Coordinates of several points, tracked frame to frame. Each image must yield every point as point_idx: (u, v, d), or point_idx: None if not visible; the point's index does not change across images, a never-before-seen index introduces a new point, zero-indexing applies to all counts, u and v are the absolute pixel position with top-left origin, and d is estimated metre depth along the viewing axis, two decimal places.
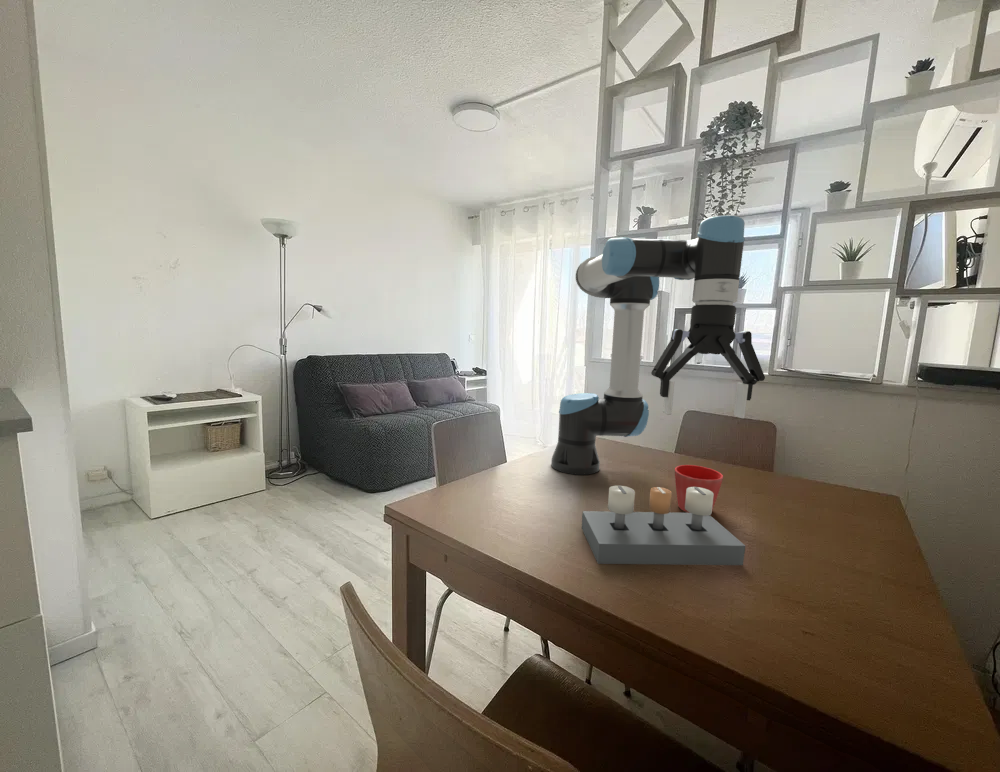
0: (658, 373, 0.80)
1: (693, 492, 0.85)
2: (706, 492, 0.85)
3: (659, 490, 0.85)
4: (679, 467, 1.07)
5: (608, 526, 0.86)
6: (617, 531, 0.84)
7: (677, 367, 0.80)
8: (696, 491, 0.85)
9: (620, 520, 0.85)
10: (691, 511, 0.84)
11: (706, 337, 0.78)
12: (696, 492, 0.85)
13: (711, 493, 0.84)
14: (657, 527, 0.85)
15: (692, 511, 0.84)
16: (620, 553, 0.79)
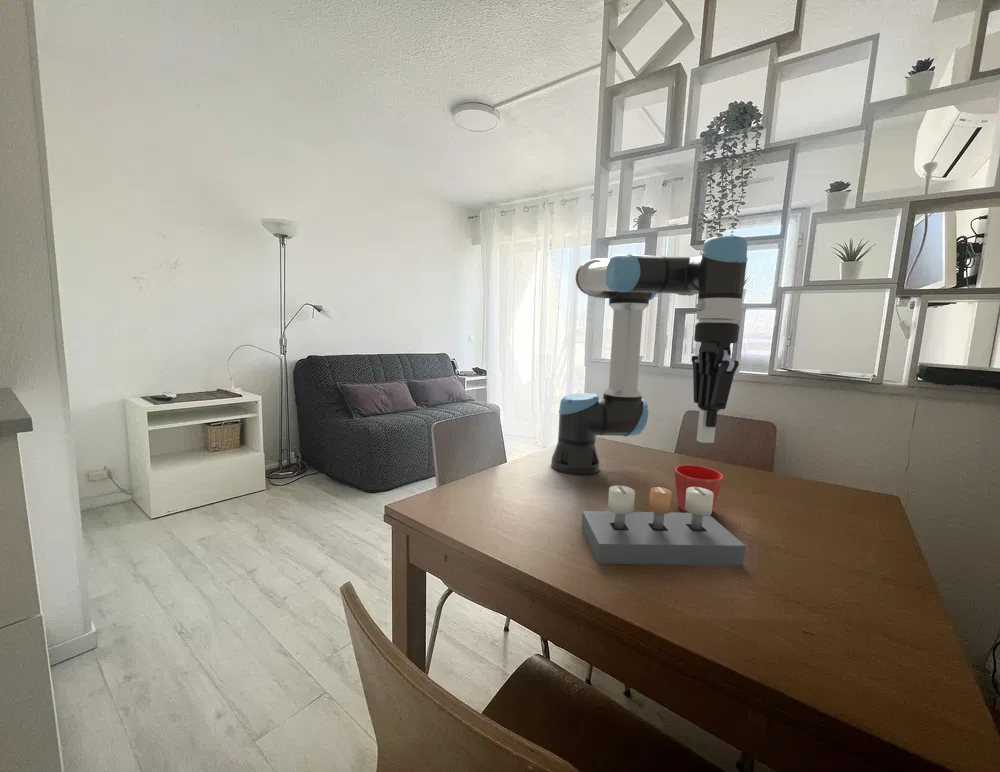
0: (694, 399, 0.86)
1: (693, 492, 0.85)
2: (706, 492, 0.85)
3: (659, 490, 0.85)
4: (679, 467, 1.07)
5: (608, 526, 0.86)
6: (617, 531, 0.84)
7: (700, 391, 0.84)
8: (696, 491, 0.85)
9: (620, 520, 0.85)
10: (691, 511, 0.84)
11: (699, 354, 0.83)
12: (696, 492, 0.85)
13: (711, 493, 0.84)
14: (657, 527, 0.85)
15: (692, 511, 0.84)
16: (620, 553, 0.79)
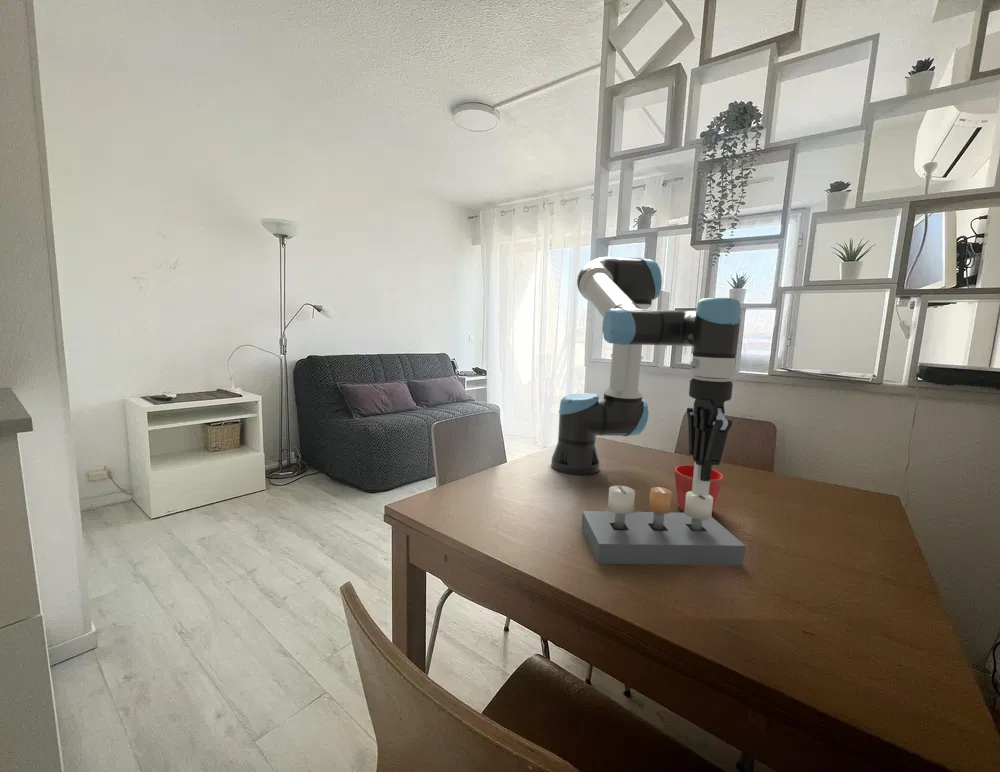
0: (689, 451, 0.87)
1: (693, 496, 0.85)
2: (705, 496, 0.85)
3: (659, 490, 0.85)
4: (679, 467, 1.07)
5: (608, 526, 0.86)
6: (617, 531, 0.84)
7: (695, 445, 0.85)
8: (696, 495, 0.85)
9: (620, 520, 0.85)
10: (691, 515, 0.85)
11: (694, 409, 0.84)
12: (696, 496, 0.85)
13: (711, 497, 0.85)
14: (657, 527, 0.85)
15: (692, 515, 0.84)
16: (620, 553, 0.79)
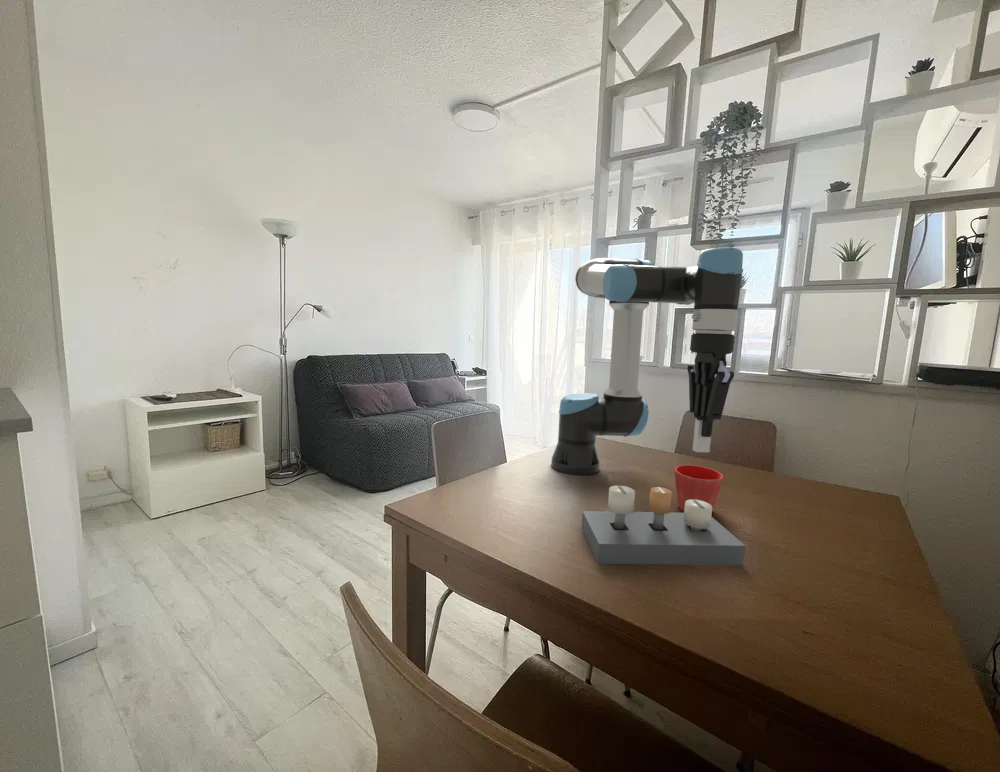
0: (690, 408, 0.86)
1: (692, 505, 0.85)
2: (705, 505, 0.85)
3: (659, 490, 0.85)
4: (679, 467, 1.07)
5: (608, 526, 0.86)
6: (617, 531, 0.84)
7: (696, 401, 0.84)
8: (695, 504, 0.86)
9: (620, 520, 0.85)
10: (690, 524, 0.85)
11: (695, 364, 0.83)
12: (695, 505, 0.85)
13: (710, 506, 0.85)
14: (657, 527, 0.85)
15: (691, 524, 0.85)
16: (620, 553, 0.79)
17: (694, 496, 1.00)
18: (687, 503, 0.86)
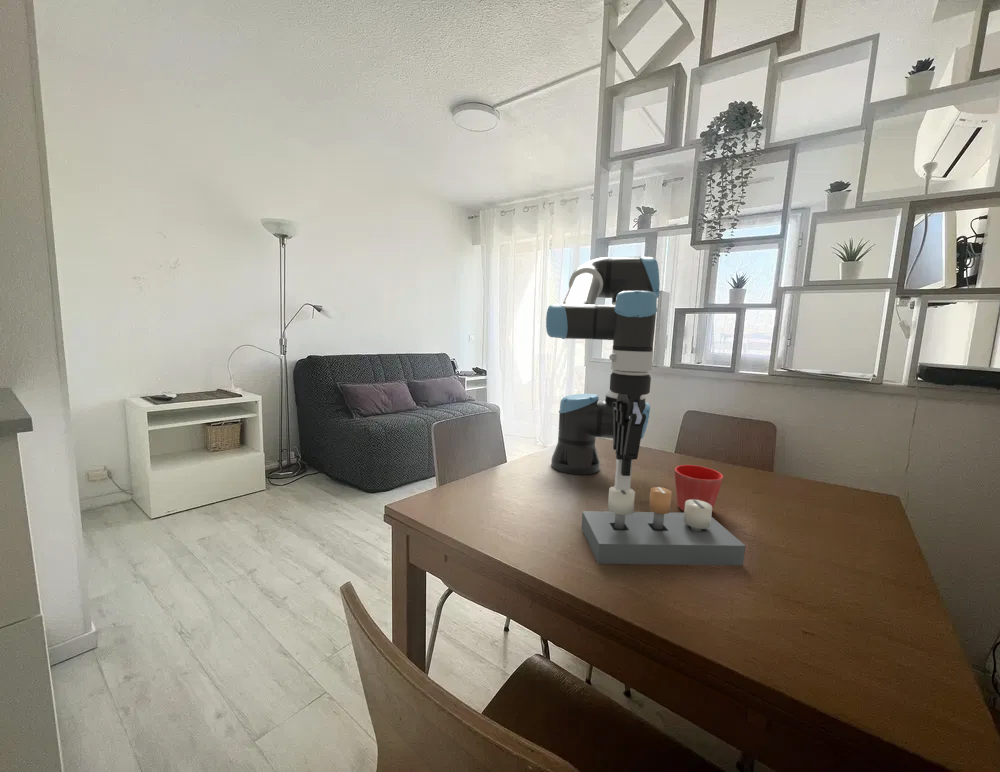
0: (613, 446, 0.87)
1: (692, 505, 0.85)
2: (705, 505, 0.85)
3: (659, 490, 0.85)
4: (679, 467, 1.07)
5: (608, 526, 0.86)
6: (617, 531, 0.84)
7: (617, 439, 0.85)
8: (695, 504, 0.86)
9: (620, 521, 0.85)
10: (690, 524, 0.85)
11: (615, 403, 0.84)
12: (695, 505, 0.85)
13: (710, 506, 0.85)
14: (657, 527, 0.85)
15: (691, 524, 0.85)
16: (620, 553, 0.79)
17: (694, 496, 1.00)
18: (687, 503, 0.86)
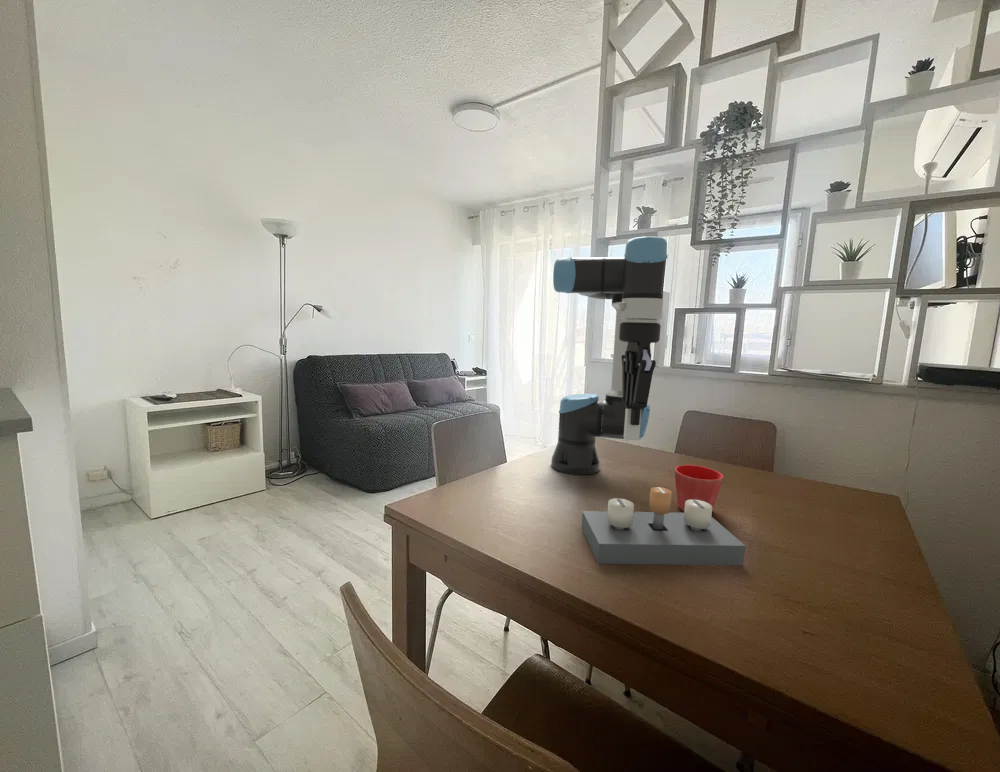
0: (622, 397, 0.87)
1: (692, 505, 0.85)
2: (705, 505, 0.85)
3: (659, 490, 0.85)
4: (679, 467, 1.07)
5: (608, 526, 0.86)
6: (617, 531, 0.84)
7: (626, 390, 0.85)
8: (695, 504, 0.86)
9: None
10: (690, 524, 0.85)
11: (625, 353, 0.84)
12: (695, 505, 0.85)
13: (710, 506, 0.85)
14: (657, 527, 0.85)
15: (691, 524, 0.85)
16: (620, 553, 0.79)
17: (694, 496, 1.00)
18: (687, 503, 0.86)
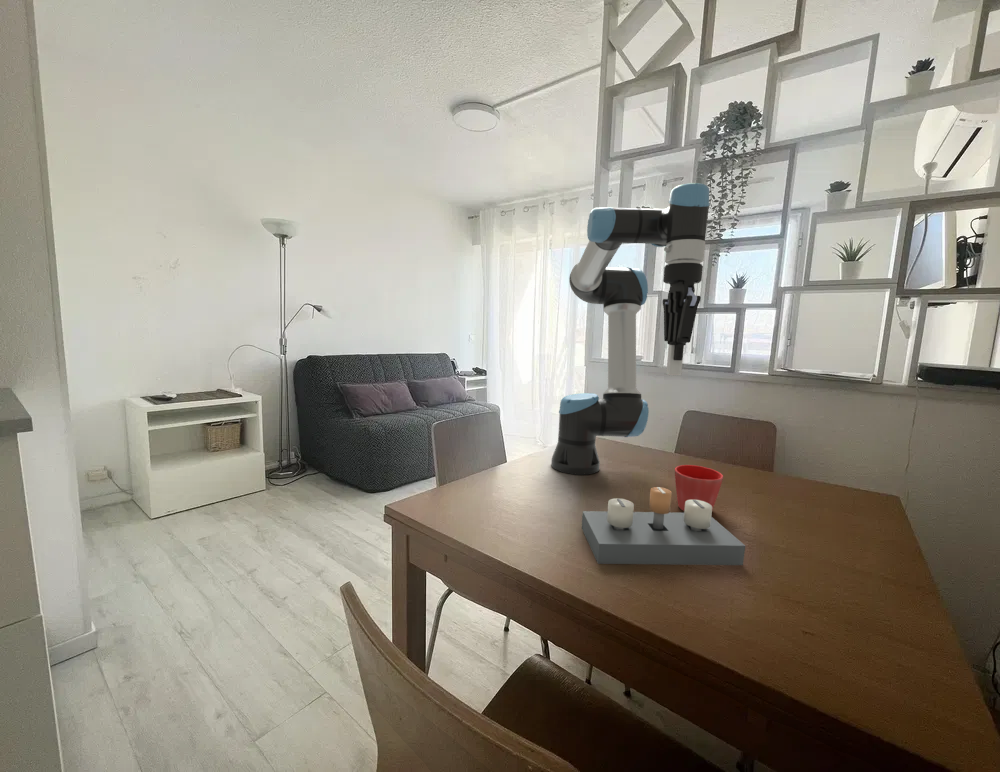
0: (664, 337, 0.94)
1: (692, 505, 0.85)
2: (705, 505, 0.85)
3: (659, 490, 0.85)
4: (679, 467, 1.07)
5: (608, 526, 0.86)
6: (617, 531, 0.84)
7: (669, 329, 0.92)
8: (695, 504, 0.86)
9: None
10: (690, 524, 0.85)
11: (668, 295, 0.91)
12: (695, 505, 0.85)
13: (710, 506, 0.85)
14: (657, 527, 0.85)
15: (691, 524, 0.85)
16: (620, 553, 0.79)
17: (694, 496, 1.00)
18: (687, 503, 0.86)
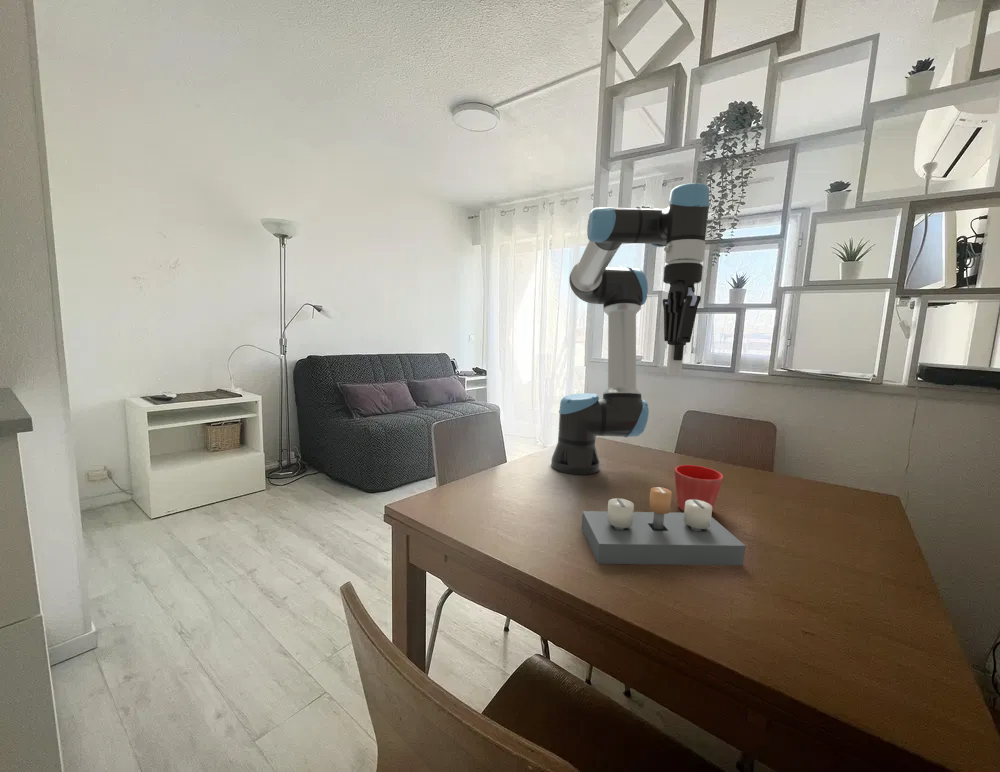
0: (664, 337, 0.94)
1: (692, 505, 0.85)
2: (705, 505, 0.85)
3: (659, 490, 0.85)
4: (679, 467, 1.07)
5: (608, 526, 0.86)
6: (617, 531, 0.84)
7: (669, 329, 0.92)
8: (695, 504, 0.86)
9: None
10: (690, 524, 0.85)
11: (668, 295, 0.91)
12: (695, 505, 0.85)
13: (710, 506, 0.85)
14: (657, 527, 0.85)
15: (691, 524, 0.85)
16: (620, 553, 0.79)
17: (694, 496, 1.00)
18: (687, 503, 0.86)
